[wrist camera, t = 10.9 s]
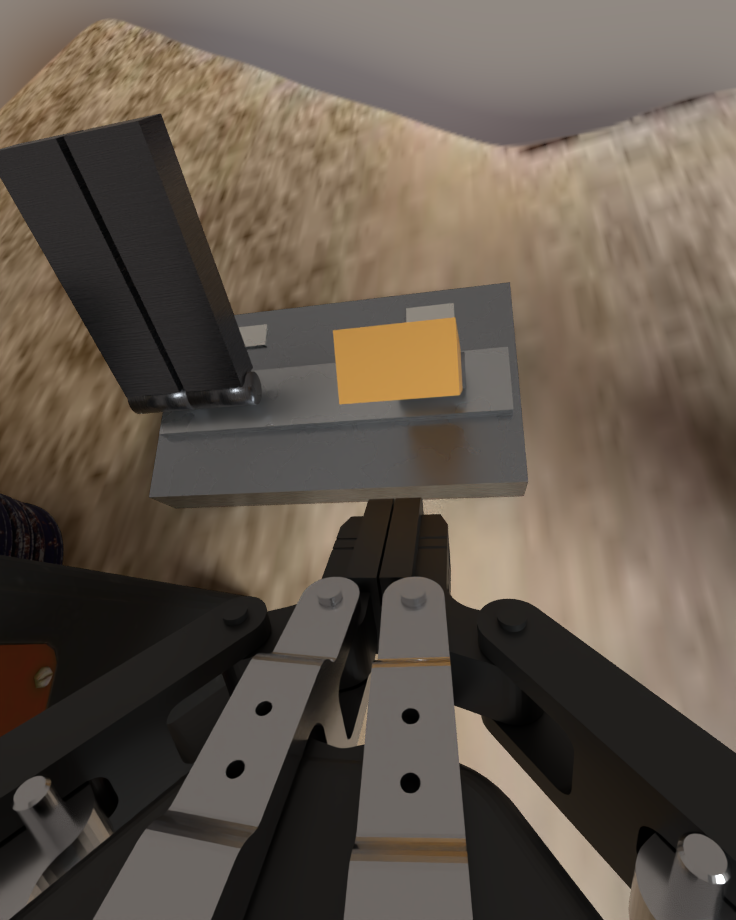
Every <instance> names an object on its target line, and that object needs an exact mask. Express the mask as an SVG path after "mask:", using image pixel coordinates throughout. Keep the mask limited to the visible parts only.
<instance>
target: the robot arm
mask: <svg viewBox="0 0 736 920" xmlns="http://www.w3.org/2000/svg"><path fill="white" fill-rule="evenodd" d="M450 592H451V565H450V550H449V536H448V524H447V523H446V521H445V520H444V519H443V517H442V516H441V514H431V515H424V512H423V502H422V498H421V497H417V498H396V499H394V498H389V499H369V500H368V503H367V507H366V510H365V513H364V516H357V517H350V518H349V519H348V520H347V521H346V522H345V523H344V524H343V525H342V526H341V527H340V530H339V533H338V536H337V541H335V544H334V546H333V550H332V552H331V555H330V557H329V560H328V563H327V566H326V568H325V571H324V574H323V577H322V579H321V580H318V581H316V582H314V583H313V584H311V585H310V586H309V587H307V588H306V590H305V591H304V592H303V594H302V596H301V598H300V600H299V602H298V603H297V604H296V605H293V606H289V607H285V608H281V609H277V610H272V611H268V612H267V608H266V605H265V603H264V602H263V601H262V600H260V599H259V598H256V597H251V596H244V597H237V598H234V599H231V600H228V601H226V602H224V603H222V604H221V605H219V606H217V607H216V608H214V609H212V610H211V611H209V612H207V613H206V614H204V615H202V616H201V617H199V618H197V619H196V620H194V621H192V622H191V623H189V624H187V625H186V626H184V627H182V628H181V629H179V630H177V631H176V632H174V633H172V634H171V635H169V636H167V637H166V638H164V639H162V640H161V641H159V642H157V643H156V644H154V645H152V646H151V647H149V648H148V649H146V650H144V651H143V652H141V653H139V654H138V655H136V656H134V657H133V658H131V659H129V660H128V661H126V662H124V663H123V664H121V665H119V666H118V667H116V668H114V669H113V670H111V671H109V672H108V673H106V674H104V675H103V676H101V677H99V678H98V679H96V680H94V681H93V682H91V683H89V684H88V685H86V686H84V687H83V688H81V689H79V690H78V691H76V692H74V693H73V694H71V695H69V696H68V697H66V698H64V699H63V700H61V701H59V702H58V703H56V704H54V705H53V706H51V707H49V708H48V709H46V710H44V711H43V712H41V713H39V714H38V715H36V716H35V717H33V718H31V719H30V720H28V721H26V722H25V723H23V724H21V725H20V726H18V727H16V728H15V729H13V730H11V731H10V732H8V733H6V734H5V735H3V736H1V737H0V920H603V918H602V917H601V916H600V914H599V913H598V912H597V911H596V909H595V908H594V907H593V905H592V904H591V903H590V902H589V900H588V899H587V898H586V896H585V895H584V894H583V893H582V891H581V890H580V889H579V887H578V886H577V885H576V883H575V882H574V881H573V880H572V878H571V877H570V876H569V874H568V873H567V872H566V871H565V869H564V868H563V867H562V865H561V864H560V863H559V862H558V860H557V859H556V858H555V856H554V855H553V854H552V852H551V851H550V850H549V849H548V847H547V846H546V845H545V843H544V842H543V841H542V840H541V838H540V837H539V836H538V834H537V833H536V832H535V830H534V829H533V828H532V827H531V825H530V824H529V823H528V821H527V820H526V819H525V817H524V816H523V815H522V814H521V812H520V811H519V810H518V808H517V807H516V806H515V805H514V803H513V802H512V801H511V800H510V799H509V798H508V797H507V796H506V795H505V794H504V793H503V792H502V791H501V790H500V789H499V787H497V786H496V785H495V784H494V783H492V782H491V781H490V780H489V779H487V778H486V777H484V776H483V775H481V774H480V773H478V772H476V771H475V770H473V769H471V768H469V767H467V766H465V765H463V764H460V763H459V756H458V745H457V733H456V722H455V710H454V705H455V706H457V707H460V708H463V709H466V710H469V711H471V712H474V713H477V714H480V715H481V717H482V720H483V723H484V725H485V727H486V728H487V729H488V731H489V732H490V733H491V734H492V735H493V736H494V737H495V738H496V740H497V741H498V742H499V743H500V744H501V745H502V746H503V747H504V748H505V750H506V751H507V752H508V753H509V754H510V755H511V756H512V757H513V758H514V760H515V761H516V762H517V763H518V764H519V765H520V766H521V767H522V768H523V770H524V771H525V772H526V773H527V774H528V775H529V776H530V777H531V778H532V780H533V781H534V782H535V783H536V784H537V785H538V786H539V787H540V788H541V790H542V791H543V792H544V793H545V794H546V795H547V796H548V797H549V798H550V800H551V801H552V802H553V803H554V804H555V805H556V806H557V807H558V809H559V810H560V811H561V812H562V813H563V814H564V815H565V816H566V817H567V819H568V820H569V821H570V822H571V823H572V824H573V825H574V826H575V827H576V829H577V830H578V831H579V832H580V833H581V834H582V835H583V836H584V837H585V839H586V840H587V841H588V842H589V843H590V844H591V845H592V846H593V847H594V849H595V850H596V851H597V852H598V853H599V854H600V855H601V856H602V857H603V859H604V860H605V861H606V862H607V863H608V864H609V865H610V866H611V867H612V869H613V870H614V871H615V872H616V873H617V874H618V875H619V876H620V877H621V879H622V880H623V881H624V882H625V883H626V884H627V885H628V886H629V887H630V889H631V892H630V898H629V919H630V920H736V753H735V752H733V751H732V750H731V749H729V748H728V747H727V746H725V745H724V744H723V743H721V742H720V741H718V740H717V739H716V738H714V737H713V736H712V735H710V734H709V733H707V732H706V731H705V730H703V729H702V728H701V727H699V726H698V725H697V724H695V723H694V722H692V721H691V720H690V719H688V718H687V717H686V716H684V715H683V714H681V713H680V712H679V711H677V710H676V709H675V708H673V707H672V706H671V705H669V704H668V703H666V702H665V701H664V700H662V699H661V698H660V697H658V696H657V695H656V694H654V693H653V692H651V691H650V690H649V689H647V688H646V687H645V686H643V685H642V684H640V683H639V682H638V681H636V680H635V679H634V678H632V677H631V676H630V675H628V674H627V673H625V672H624V671H623V670H621V669H620V668H619V667H617V666H616V665H614V664H613V663H612V662H610V661H609V660H608V659H606V658H605V657H604V656H602V655H601V654H599V653H598V652H597V651H595V650H594V649H593V648H591V647H590V646H588V645H587V644H586V643H584V642H583V641H582V640H580V639H579V638H578V637H576V636H575V635H573V634H572V633H571V632H569V631H568V630H567V629H565V628H564V627H562V626H561V625H560V624H558V623H557V622H556V621H554V620H553V619H552V618H550V617H549V616H547V615H546V614H545V613H543V612H542V611H541V610H539V609H538V608H536V607H535V606H533V605H532V604H529V603H527V602H524V601H521V600H516V599H500V600H496V601H493V602H490V603H488V604H487V605H485V606H484V607H483V608H482V609H481V610H476V609H472V608H469V607H466V606H464V605H462V604H460V603H459V602H457V601H456V600H455V599H453V598H452V596H451V594H450ZM375 654H378V660H375ZM220 674H222V676H223V679H224V682H225V684H226V685H225V686H223V687H222V688H221V689H219V690H218V691H216V692H215V693H214V694H212V695H211V696H209V697H208V698H207V699H205V700H204V701H202V702H201V703H200V704H198V705H197V706H195V707H194V708H193V709H191V710H190V711H188V712H187V713H185V714H184V715H183V716H181V717H180V718H178V719H177V720H176V721H174V722H172V723H170V724H167V718H168V716H169V714H170V712H171V710H172V709H173V708H174V707H175V706H176V705H177V704H178V703H180V702H181V701H183V700H184V699H185V698H187V697H188V696H190V695H191V694H193V693H194V692H196V691H197V690H198V689H200V688H201V687H203V686H204V685H206V684H207V683H209V682H210V681H211V680H213V679H214V678H216V677H217V676H219V675H220ZM368 701H369V702H368ZM367 705H368V713H367V724H366V735H365V745H360V746H357V743H358V739H359V736H360V732H361V728H362V724H363V720H364V717H365V713H366V709H367Z"/></svg>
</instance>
